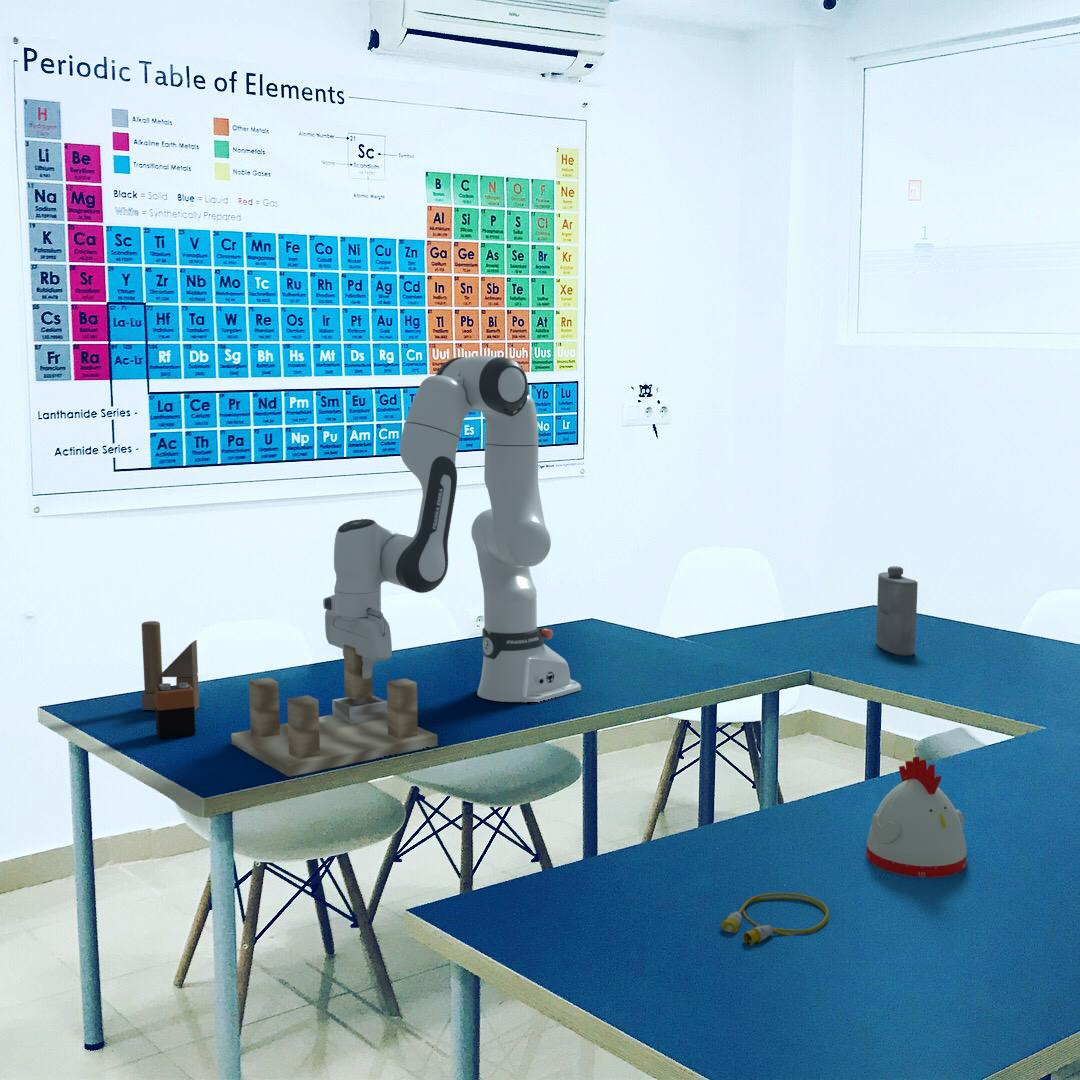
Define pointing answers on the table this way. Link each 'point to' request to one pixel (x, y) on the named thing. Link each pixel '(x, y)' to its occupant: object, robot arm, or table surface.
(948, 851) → the kitchen timer
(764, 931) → the extension cord
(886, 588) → the flask
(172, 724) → the battery
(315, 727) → the stone peg stand
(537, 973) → the table surface
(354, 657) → the oak leg
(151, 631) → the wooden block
